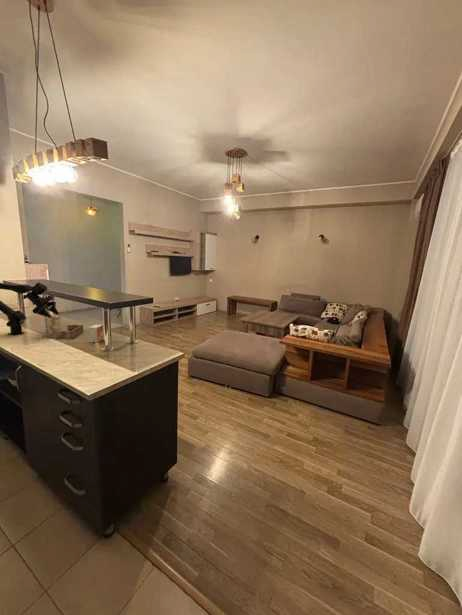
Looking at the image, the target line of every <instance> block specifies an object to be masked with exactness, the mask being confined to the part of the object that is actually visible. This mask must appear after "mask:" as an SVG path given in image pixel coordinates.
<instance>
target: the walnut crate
mask: <svg viewBox="0 0 462 615" xmlns="http://www.w3.org/2000/svg"><path fill="white" fill-rule="evenodd" d="M66 327H67V330H61V331H55V332H56V337H55V339H62V340H63V339H67V340H73V339H75V338H76V337H78V336H79V335H80V334H82V333H83V332H84V324H67V326H66Z"/></svg>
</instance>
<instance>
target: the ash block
mask: <svg viewBox="0 0 462 615" xmlns="http://www.w3.org/2000/svg"><path fill="white" fill-rule="evenodd" d="M51 316H52V317H51V318H49V317H47V322H48V333H49V335H56V332H55V331H62V328H61V326H62V325H61V315H60V314H58V315H57V314H54V315H53V314H52V315H51Z"/></svg>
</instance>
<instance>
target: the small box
mask: <svg viewBox="0 0 462 615" xmlns="http://www.w3.org/2000/svg"><path fill="white" fill-rule="evenodd" d="M102 340H104V324H94V325H91V326H88V341H89V343H93V342H95V343H96V344H97V342H98V343H99V342H102Z"/></svg>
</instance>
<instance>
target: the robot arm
mask: <svg viewBox="0 0 462 615" xmlns="http://www.w3.org/2000/svg"><path fill="white" fill-rule="evenodd" d="M48 289H49V288H48V286H46V284H43V283H41V282H37V283H36V284H35V285H34V286H32V285H29V284H28V283H27V284H26V283H25V284H24V283H23V284H19V283H18V284H13V283H6V282H0V290H6V291H12V292H14V293H17V294H23V295H22V299H23V300H26V299H27V300H29V301H30V302H31V304H32V305H33V306H34V305H35V307H34V308H33V309H32V313H33V314H34V315H36V314H37V315H40V316H43V317H46V318H48V317H49V318H51V317H52V315H51V314H50V313H49V312H51V313H53V314H54V315H60V313H59V311H58V310H57V308H56V305H57V302H56V300H55V296H53V295H52V294H50V295H49V294H48V295H47V297H43V296H42V295H43V294H44V293H45V292H46V291H48ZM41 296H42V297H41ZM48 311H49V312H48ZM0 312H2V313H3V314H4V315H6V317H7V319H8V321H6V324H5V325H6V327H9V330H10V332H8V333H7V334H8V335H12V336H18V335H21V334H22V335H23V334H25V331H23V328H22V324H24V322H25V321H26V319H27V316H26V315H25V313H23V312H22V311H21V310H19V309H18V310H14V309H12V308H11V307H10V306H8V305H7V304H6V303H4V302H3V301H1V300H0Z"/></svg>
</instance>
